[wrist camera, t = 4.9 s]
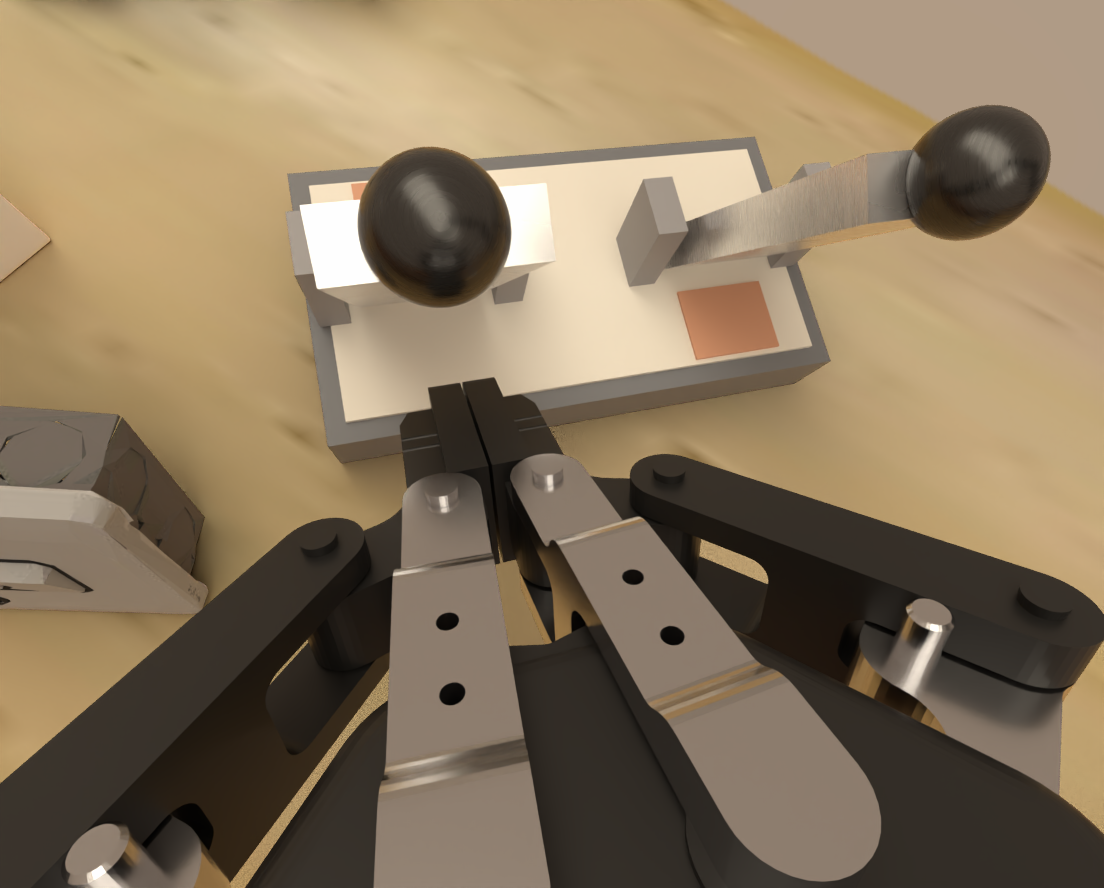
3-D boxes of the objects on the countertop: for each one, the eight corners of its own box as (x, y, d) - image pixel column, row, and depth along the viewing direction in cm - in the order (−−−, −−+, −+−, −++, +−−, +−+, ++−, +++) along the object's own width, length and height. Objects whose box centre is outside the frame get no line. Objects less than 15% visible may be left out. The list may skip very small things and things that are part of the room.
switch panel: (728, 177, 33) (802, 65, 26) (794, 383, 30) (896, 320, 23) (304, 217, 28) (256, 94, 21) (341, 463, 26) (301, 414, 19)
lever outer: (475, 233, 24) (566, 115, 11) (486, 309, 25) (586, 288, 11) (346, 247, 23) (269, 135, 10) (362, 325, 24) (310, 323, 10)
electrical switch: (-60, 607, 22) (-382, 574, 14) (-12, 473, 24) (-271, 368, 15) (212, 615, 24) (77, 590, 15) (238, 488, 25) (131, 400, 17)
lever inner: (763, 202, 27) (1124, 78, 13) (767, 272, 27) (1114, 219, 14) (660, 213, 26) (938, 90, 12) (666, 285, 26) (936, 242, 13)
